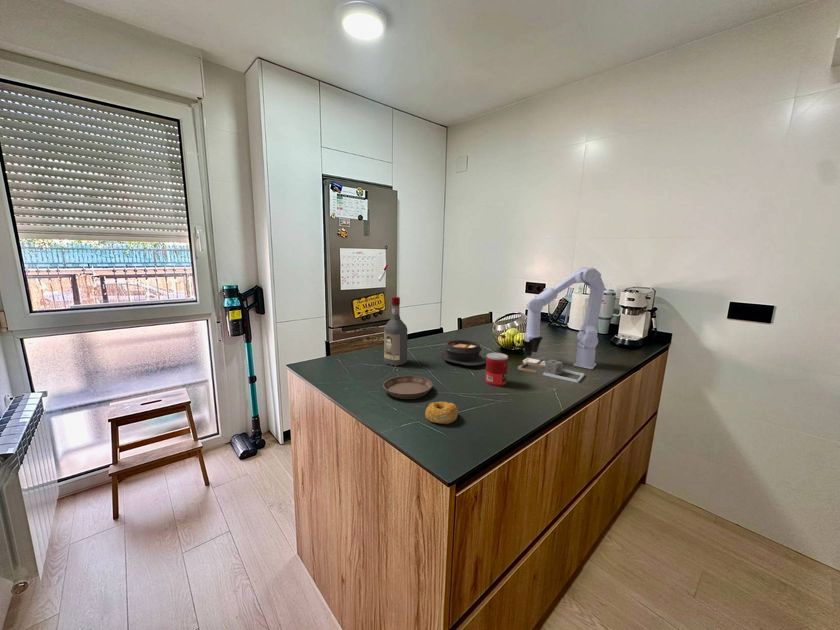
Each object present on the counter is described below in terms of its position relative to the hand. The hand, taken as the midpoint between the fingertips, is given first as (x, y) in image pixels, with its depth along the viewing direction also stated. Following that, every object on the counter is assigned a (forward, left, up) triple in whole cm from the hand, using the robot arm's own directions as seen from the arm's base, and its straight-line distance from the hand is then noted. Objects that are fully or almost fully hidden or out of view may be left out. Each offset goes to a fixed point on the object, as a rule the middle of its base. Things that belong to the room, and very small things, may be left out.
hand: (531, 353), depth 153 cm
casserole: (+19, -26, -5) cm, 32 cm away
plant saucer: (+62, -23, -5) cm, 66 cm away
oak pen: (+8, +3, -4) cm, 10 cm away
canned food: (+34, -2, -5) cm, 34 cm away
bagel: (+70, -2, -5) cm, 70 cm away
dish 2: (-1, +7, -4) cm, 9 cm away
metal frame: (+8, +17, -4) cm, 19 cm away
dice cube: (+8, +12, -5) cm, 15 cm away
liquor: (+41, -48, -5) cm, 63 cm away
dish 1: (-1, 0, -4) cm, 4 cm away
